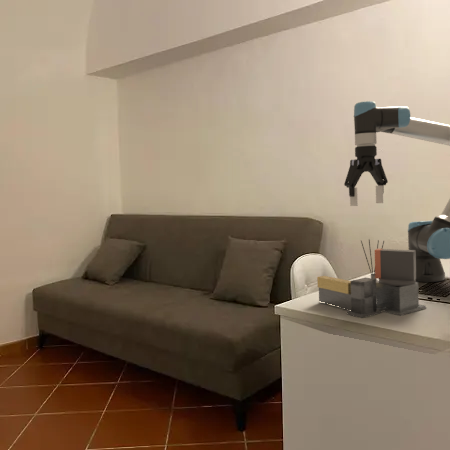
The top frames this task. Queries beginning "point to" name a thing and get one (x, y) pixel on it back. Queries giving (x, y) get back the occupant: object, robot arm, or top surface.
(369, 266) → the reed diffuser
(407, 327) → the top surface
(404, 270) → the grey block orange side
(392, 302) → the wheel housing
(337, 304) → the eye bracket
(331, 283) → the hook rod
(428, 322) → the top surface
